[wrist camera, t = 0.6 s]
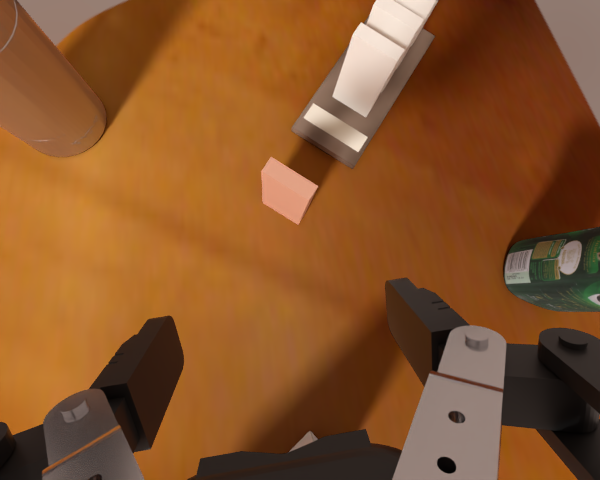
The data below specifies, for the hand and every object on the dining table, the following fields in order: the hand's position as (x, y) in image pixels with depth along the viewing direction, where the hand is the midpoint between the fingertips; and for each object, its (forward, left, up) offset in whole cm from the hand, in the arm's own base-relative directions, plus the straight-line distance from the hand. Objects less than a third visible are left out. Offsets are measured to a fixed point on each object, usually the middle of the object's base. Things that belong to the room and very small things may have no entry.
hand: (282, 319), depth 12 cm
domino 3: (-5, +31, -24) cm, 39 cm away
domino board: (-5, +31, -25) cm, 40 cm away
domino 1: (-5, +10, -25) cm, 28 cm away
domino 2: (-5, +27, -24) cm, 36 cm away
